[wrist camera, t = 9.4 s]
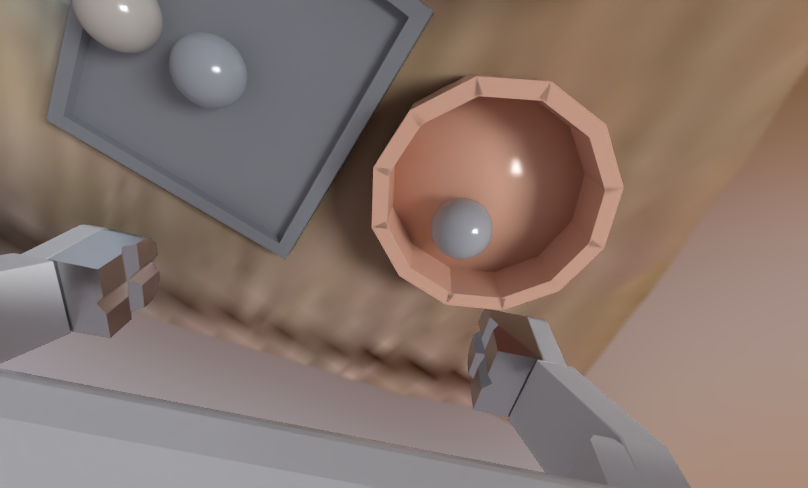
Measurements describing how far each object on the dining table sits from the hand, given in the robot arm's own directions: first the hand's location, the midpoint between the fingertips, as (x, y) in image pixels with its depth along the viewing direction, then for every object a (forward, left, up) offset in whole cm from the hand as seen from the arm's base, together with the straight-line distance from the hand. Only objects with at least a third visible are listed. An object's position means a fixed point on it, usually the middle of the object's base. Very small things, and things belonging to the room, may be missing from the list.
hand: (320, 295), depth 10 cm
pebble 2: (-9, -1, -12) cm, 15 cm away
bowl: (+6, +2, -14) cm, 15 cm away
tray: (-9, -1, -14) cm, 17 cm away
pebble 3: (+5, 0, -12) cm, 13 cm away
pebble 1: (-14, -1, -12) cm, 18 cm away
